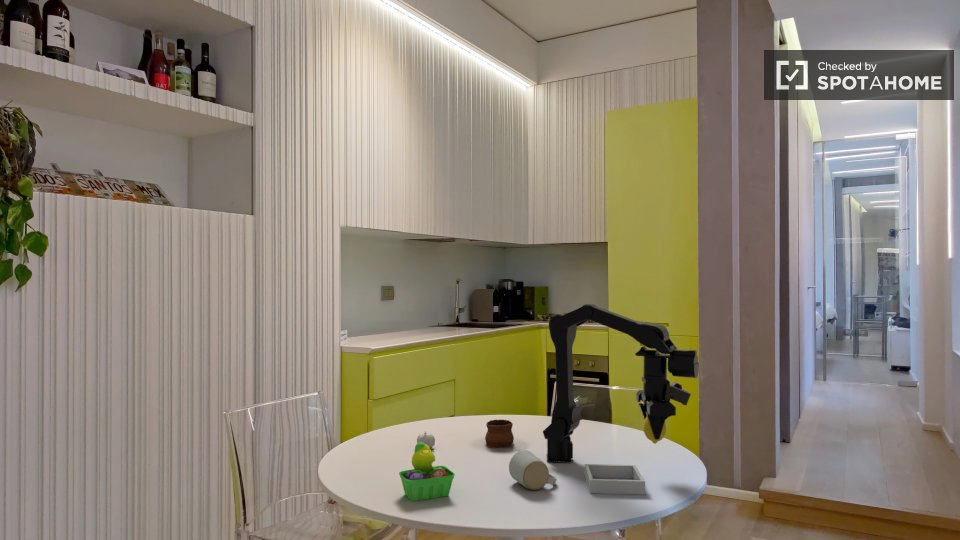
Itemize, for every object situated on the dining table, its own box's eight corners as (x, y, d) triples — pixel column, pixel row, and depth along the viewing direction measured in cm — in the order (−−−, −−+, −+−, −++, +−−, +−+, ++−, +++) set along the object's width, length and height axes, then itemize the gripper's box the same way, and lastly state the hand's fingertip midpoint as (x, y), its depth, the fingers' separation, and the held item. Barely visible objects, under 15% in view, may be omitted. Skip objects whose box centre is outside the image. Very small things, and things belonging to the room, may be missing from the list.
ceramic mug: (523, 493, 144) (524, 460, 144) (508, 482, 152) (508, 451, 152) (563, 488, 148) (563, 456, 148) (546, 478, 156) (546, 447, 156)
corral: (589, 493, 144) (589, 480, 145) (584, 475, 157) (584, 463, 157) (645, 494, 144) (645, 481, 144) (635, 477, 156) (635, 465, 156)
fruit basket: (407, 504, 137) (407, 452, 137) (396, 491, 145) (396, 442, 145) (455, 497, 142) (456, 447, 142) (442, 485, 150) (442, 438, 150)
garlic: (429, 452, 178) (429, 433, 178) (412, 450, 180) (412, 432, 180) (438, 447, 184) (438, 429, 184) (422, 445, 186) (422, 427, 186)
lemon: (667, 447, 155) (667, 414, 155) (644, 445, 156) (644, 413, 156) (664, 441, 160) (665, 410, 160) (642, 440, 161) (642, 409, 161)
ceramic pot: (541, 446, 185) (541, 422, 185) (494, 457, 174) (493, 432, 174) (503, 435, 199) (503, 413, 199) (457, 444, 189) (457, 421, 189)
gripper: (698, 381, 148) (697, 447, 148) (678, 369, 167) (677, 428, 167) (650, 380, 149) (649, 446, 149) (635, 368, 168) (635, 427, 168)
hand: (654, 436), depth 158 cm, fingers closed on lemon, 5 cm apart
